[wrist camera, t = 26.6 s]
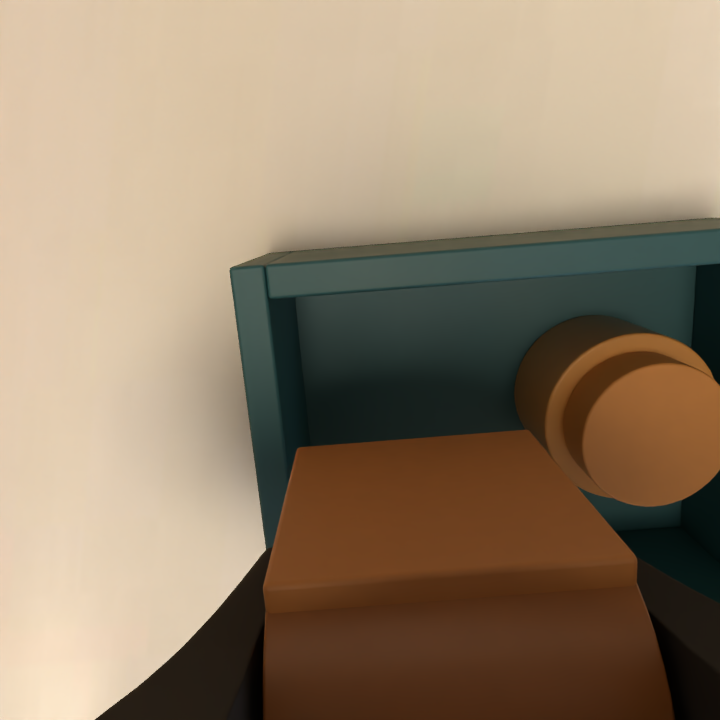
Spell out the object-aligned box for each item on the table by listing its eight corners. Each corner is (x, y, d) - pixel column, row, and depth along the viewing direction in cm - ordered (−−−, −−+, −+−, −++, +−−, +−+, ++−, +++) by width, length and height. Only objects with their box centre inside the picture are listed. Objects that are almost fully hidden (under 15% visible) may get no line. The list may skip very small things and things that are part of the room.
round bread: (664, 308, 18) (763, 336, 14) (657, 450, 20) (746, 517, 15) (512, 320, 19) (563, 351, 14) (514, 461, 20) (561, 531, 15)
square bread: (529, 427, 12) (695, 620, 6) (530, 627, 13) (670, 947, 7) (296, 445, 12) (243, 654, 6) (317, 644, 13) (291, 975, 7)
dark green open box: (712, 217, 18) (883, 215, 12) (690, 535, 21) (822, 656, 15) (268, 253, 18) (228, 267, 13) (303, 564, 21) (284, 696, 15)
